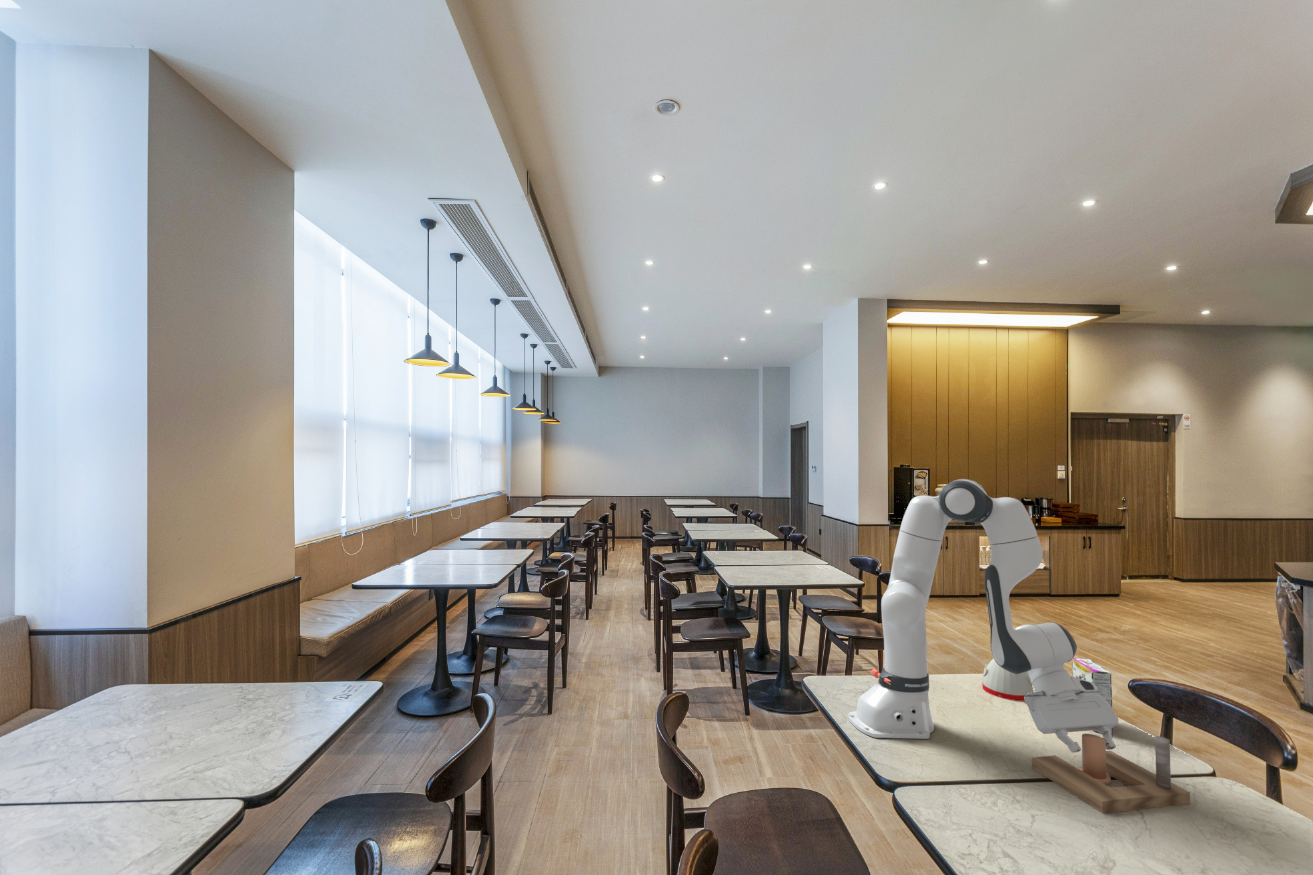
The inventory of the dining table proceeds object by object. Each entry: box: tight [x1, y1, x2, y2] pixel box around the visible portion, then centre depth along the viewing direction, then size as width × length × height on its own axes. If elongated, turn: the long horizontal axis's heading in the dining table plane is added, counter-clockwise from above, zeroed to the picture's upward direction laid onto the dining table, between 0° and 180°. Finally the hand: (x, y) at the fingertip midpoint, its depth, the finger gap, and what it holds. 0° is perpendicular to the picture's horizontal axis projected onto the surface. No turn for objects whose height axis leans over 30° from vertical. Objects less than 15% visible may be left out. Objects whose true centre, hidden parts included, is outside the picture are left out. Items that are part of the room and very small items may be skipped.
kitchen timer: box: [981, 657, 1034, 702], centre depth 184 cm, size 14×14×15 cm
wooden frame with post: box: [1031, 735, 1191, 814], centre depth 131 cm, size 22×18×12 cm
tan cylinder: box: [1078, 733, 1112, 786], centre depth 133 cm, size 6×6×9 cm
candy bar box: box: [1071, 657, 1114, 734], centre depth 162 cm, size 11×5×16 cm, turn 168°
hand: (1094, 750), depth 133 cm, fingers open, 8 cm apart
